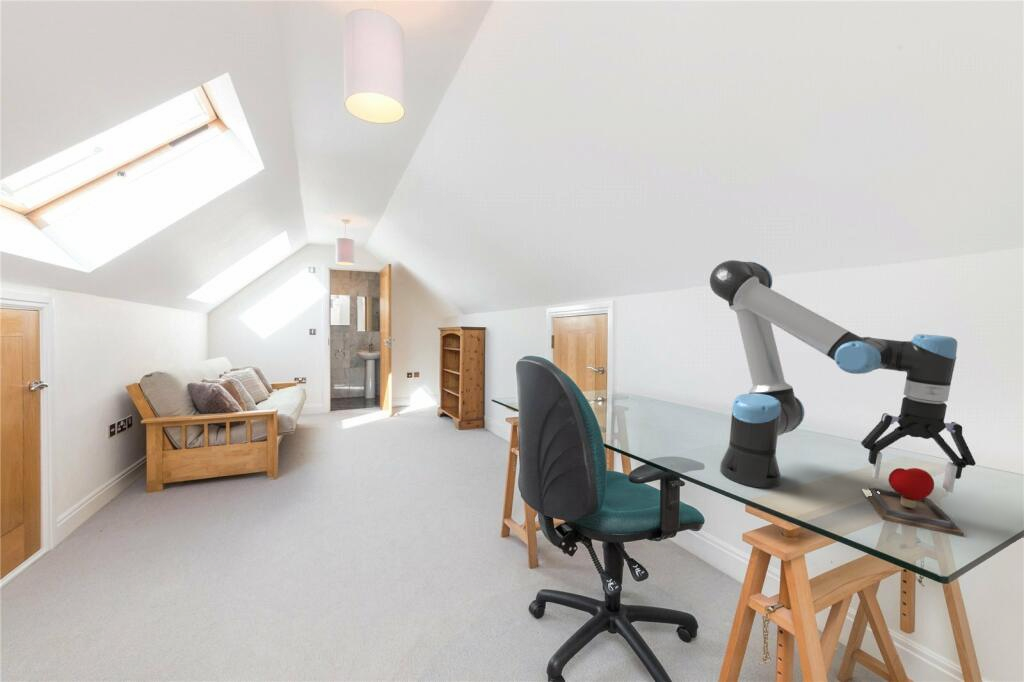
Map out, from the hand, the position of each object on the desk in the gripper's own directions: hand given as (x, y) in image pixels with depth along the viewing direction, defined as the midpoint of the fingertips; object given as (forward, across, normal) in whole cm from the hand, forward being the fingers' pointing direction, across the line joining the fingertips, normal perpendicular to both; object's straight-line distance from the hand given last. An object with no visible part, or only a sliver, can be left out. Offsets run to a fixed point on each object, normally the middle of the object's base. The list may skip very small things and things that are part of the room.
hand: (909, 483), depth 101 cm
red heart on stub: (+7, 0, 0) cm, 7 cm away
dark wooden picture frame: (+7, 0, 0) cm, 7 cm away
